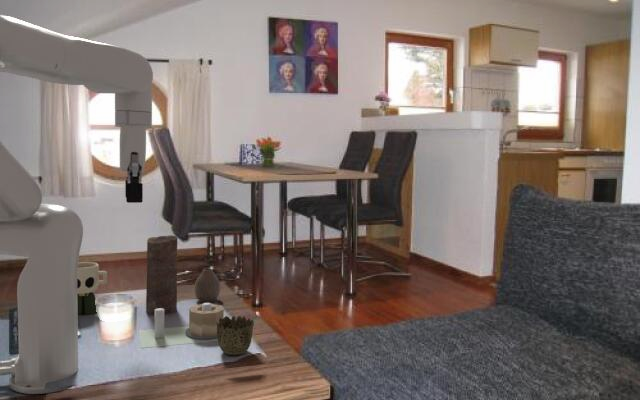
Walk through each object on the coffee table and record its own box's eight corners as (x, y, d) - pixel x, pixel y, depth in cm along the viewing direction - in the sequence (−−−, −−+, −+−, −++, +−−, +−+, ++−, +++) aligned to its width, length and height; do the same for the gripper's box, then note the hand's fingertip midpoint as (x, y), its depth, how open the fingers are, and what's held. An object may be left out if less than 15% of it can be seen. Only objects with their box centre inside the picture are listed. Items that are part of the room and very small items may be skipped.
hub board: (141, 355, 112) (141, 316, 111) (138, 336, 122) (138, 301, 121) (231, 346, 118) (232, 309, 117) (222, 329, 128) (222, 296, 128)
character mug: (58, 324, 129) (57, 269, 127) (59, 315, 135) (58, 263, 134) (108, 319, 133) (107, 266, 132) (106, 311, 139) (106, 260, 138)
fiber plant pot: (245, 368, 107) (246, 328, 106) (209, 364, 108) (210, 325, 107) (257, 354, 114) (258, 317, 113) (224, 351, 115) (224, 313, 114)
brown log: (178, 319, 134) (179, 238, 132) (147, 322, 132) (147, 239, 130) (174, 310, 141) (175, 233, 139) (144, 313, 139) (144, 234, 137)
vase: (193, 298, 154) (193, 267, 153) (218, 296, 156) (218, 266, 155) (195, 305, 147) (195, 272, 146) (221, 303, 149) (222, 271, 148)
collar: (192, 337, 117) (192, 314, 116) (188, 327, 123) (188, 305, 123) (225, 334, 119) (225, 312, 119) (219, 324, 126) (219, 303, 125)
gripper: (114, 121, 125) (115, 196, 127) (115, 118, 109) (115, 204, 111) (149, 122, 128) (149, 196, 129) (154, 120, 112) (154, 204, 113)
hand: (133, 200), depth 120 cm, fingers open, 9 cm apart
